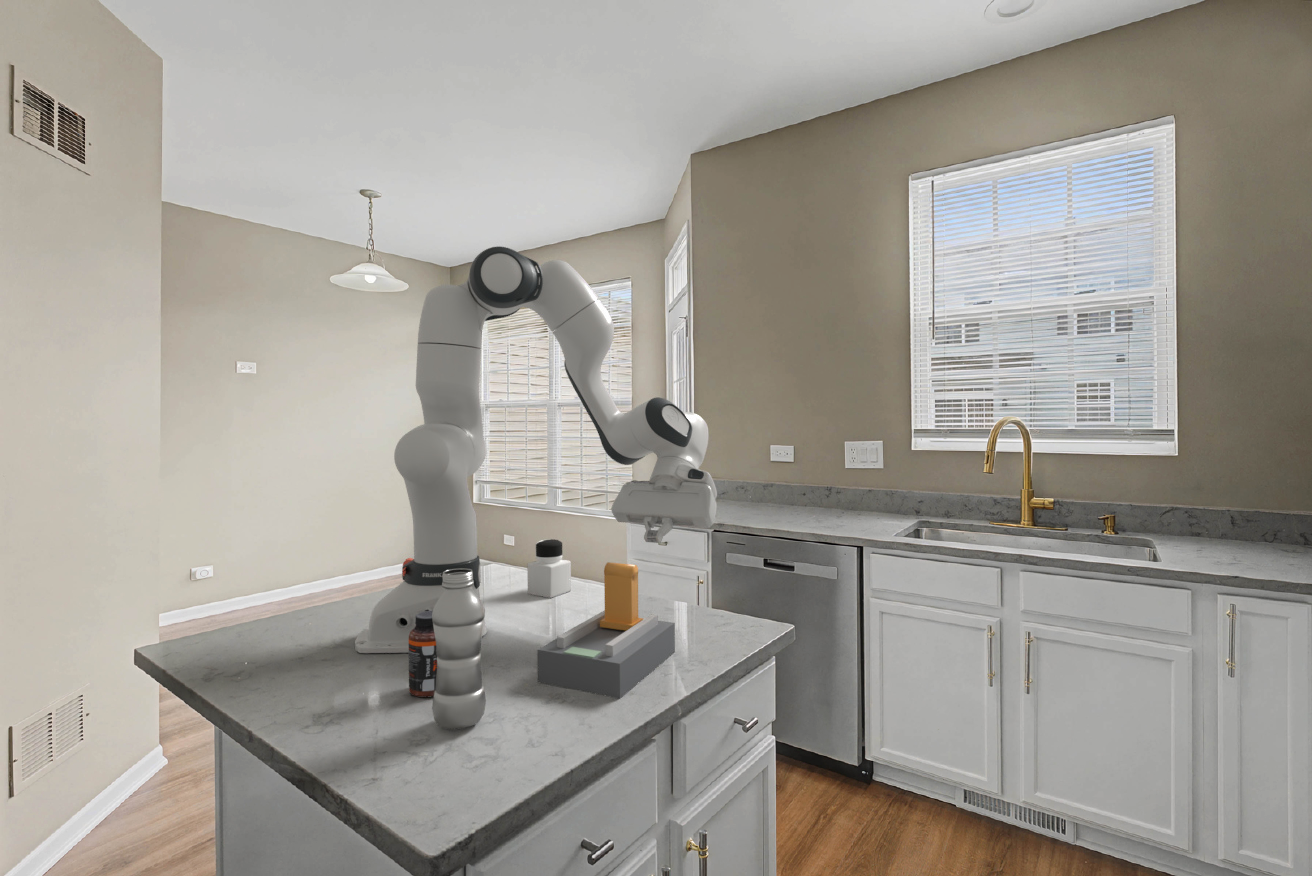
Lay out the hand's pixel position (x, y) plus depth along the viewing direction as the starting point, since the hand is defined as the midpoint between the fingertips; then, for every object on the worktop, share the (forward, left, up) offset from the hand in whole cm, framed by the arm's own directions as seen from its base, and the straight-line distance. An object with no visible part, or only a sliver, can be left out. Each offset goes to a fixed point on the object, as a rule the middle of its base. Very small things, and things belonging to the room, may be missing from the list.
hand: (652, 540), depth 118 cm
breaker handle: (-7, -10, -12) cm, 17 cm away
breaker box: (-10, -13, -17) cm, 24 cm away
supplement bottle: (-37, -16, -18) cm, 44 cm away
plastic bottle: (-32, -28, -18) cm, 46 cm away
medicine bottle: (-17, +34, -18) cm, 42 cm away
